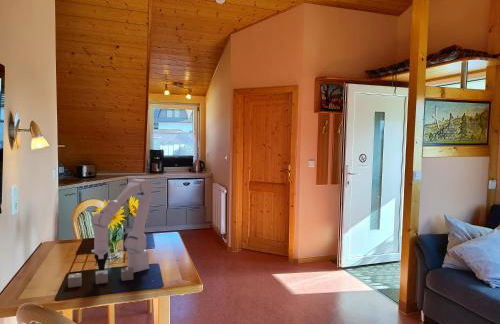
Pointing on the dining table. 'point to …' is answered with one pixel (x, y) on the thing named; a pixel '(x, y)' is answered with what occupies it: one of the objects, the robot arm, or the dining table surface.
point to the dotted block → (74, 280)
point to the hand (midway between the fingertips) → (101, 270)
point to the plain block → (102, 276)
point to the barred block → (127, 273)
